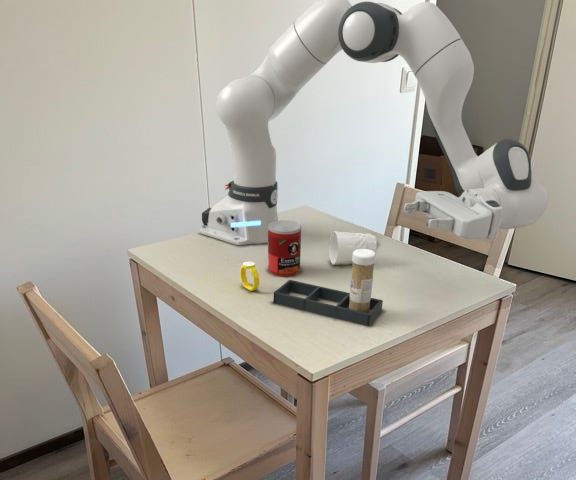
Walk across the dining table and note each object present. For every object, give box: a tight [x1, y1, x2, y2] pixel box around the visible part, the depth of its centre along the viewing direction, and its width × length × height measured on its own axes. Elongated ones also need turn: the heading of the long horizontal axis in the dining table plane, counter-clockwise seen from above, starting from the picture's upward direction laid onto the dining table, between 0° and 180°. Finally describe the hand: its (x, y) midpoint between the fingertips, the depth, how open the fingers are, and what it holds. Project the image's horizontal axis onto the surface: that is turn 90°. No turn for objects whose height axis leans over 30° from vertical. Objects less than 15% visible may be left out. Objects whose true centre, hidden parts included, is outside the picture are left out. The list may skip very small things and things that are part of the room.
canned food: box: [267, 219, 302, 277], centre depth 141 cm, size 8×8×11 cm
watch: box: [239, 261, 260, 292], centre depth 133 cm, size 6×3×6 cm, turn 35°
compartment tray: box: [273, 279, 384, 327], centre depth 127 cm, size 22×8×2 cm, turn 63°
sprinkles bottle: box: [348, 249, 377, 313], centre depth 121 cm, size 5×5×14 cm
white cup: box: [328, 230, 378, 266], centre depth 146 cm, size 8×8×10 cm
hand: (416, 215), depth 121 cm, fingers open, 8 cm apart
